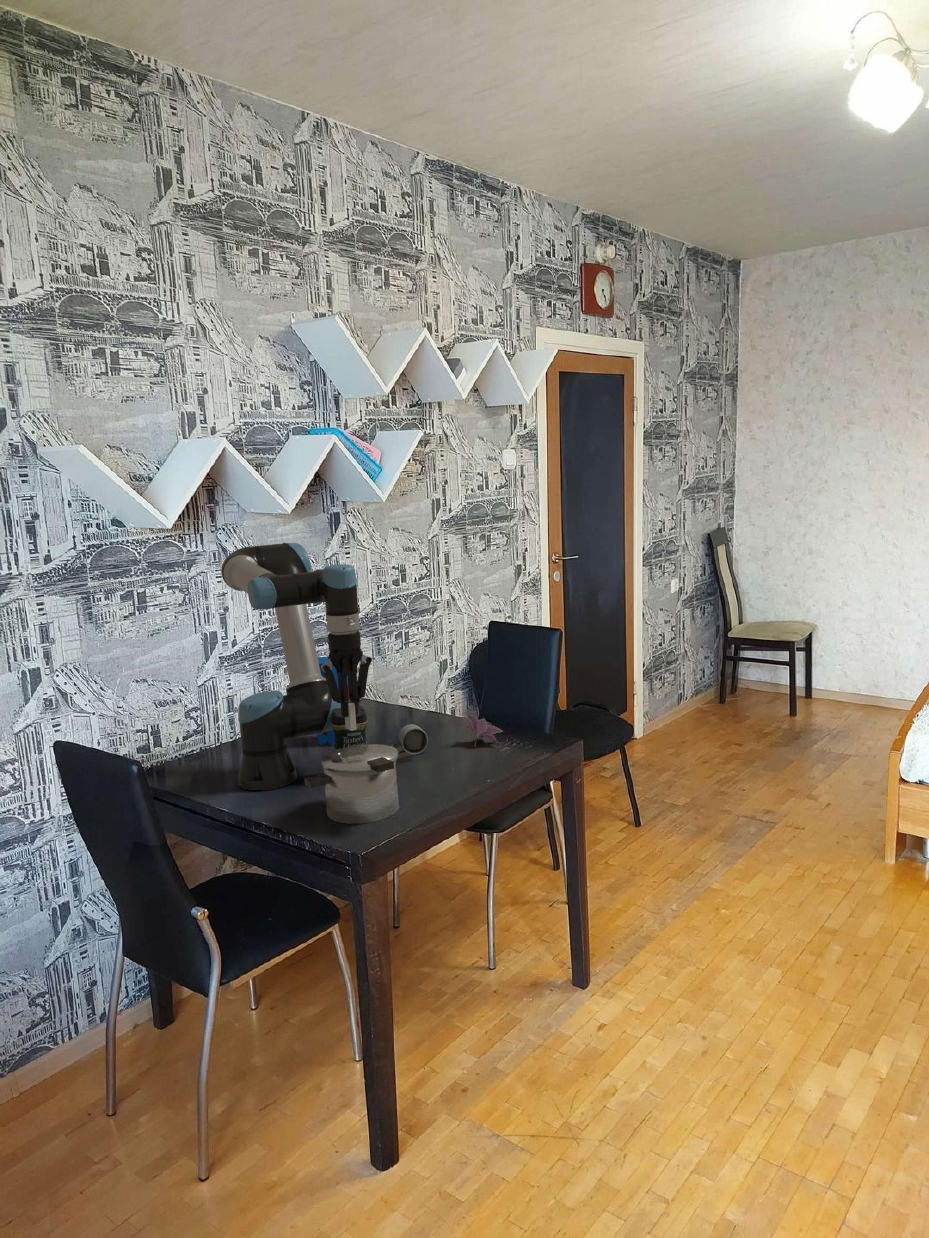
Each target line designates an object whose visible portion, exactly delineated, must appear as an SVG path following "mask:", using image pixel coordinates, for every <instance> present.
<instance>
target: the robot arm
mask: <svg viewBox="0 0 929 1238" xmlns="http://www.w3.org/2000/svg"><path fill="white" fill-rule="evenodd" d="M312 567H313V566H312V563H311V560H310V557H309V554H308V552H307V550H306V548H305V547H303V546H302V545H301V543H299V542H282V543H273V544H263V545H262V544H261V545H254V546H252V545H250V546H249V545H248V546H245V547H241V548H238V549H236V550H234V551H233V552H231V553H230V554H228V555H227V557H226V558H225V559H224V560H223V562H222V565H221V569H220V571H221V577H222V580H223V582H224V583H225V585H227V586H228V587H229V588H231V589H232V590H234V591H239V592H245V593H246V594H247V596H248V601H249V602H248V603H249V604H250V607H251V608H252V609H254V610H271V609H274V610H275V615H276V620H277V624H278V629H279V634H280V640H281V645H282V650H283V654H284V659H285V663H286V669H287V673H288V674H287V675H288V679H289V683H288V685H287V686H286V687H285V692H286V694H285V695H284V694H283V693H282V692H281V691H280V690H269V691H268V690H267V691H266V690H265V691H262V692H257V693H255V694H252V695H250V696H248V697H246V698H245V697H244V699H242V700H241V701H240V702H239V704H238V707H237V708H238V710H237V711H238V719H237V721H238V722H239V723H238V724H239V730H240V731H239V732H240V733H239V734H240V742H241V750H242V756H241V757H242V758H241V761H240V766H239V770H238V775H237V779H238V780H237V781H238V786H239V785H240V786H241V787H243V788H245V789H244V790H246V789H250V790H249V791H253V790H261V791H270V790H275V789H280V788H283V787H285V786H289V785H291V784H292V783H294V782H296V780H297V778H298V777H297V776H298V775H297V774H298V773H297V769H296V766H295V763H294V762H293V759H292V757H291V755H290V753H289V749H288V742H287V741H288V740H290V739H295V738H300V737H305V736H310V735H311V736H312V735H317V733H319V734H321V733H323V732H327V731H331V730H333V729H332V726H331V717H332V710H333V709H336V708H341V714H342V716H343V717H345V726H346V729H348V730H350V731H353V730H357V728H356V715H357V714H358V706H359V703H360V701H361V699H364V698H365V696H366V690H367V683H368V676H369V669H370V666H371V664H372V662H373V658H372V657H371V656H367V655H365V654H364V652H363V650H362V643H361V641H362V639H361V632H360V631H359V629H360V615H359V600H358V599H359V597H358V584H357V583H358V579H357V576H356V575H357V574H356V568H355V567H354V566H353V565H352V564H345V563H344V564H341V563H340V564H331V565H327V566H325V567H324V568H323V569H322V568H319V569H315V570H313V571H312ZM319 603H320V604H321V603H324V605H325V615H326V616H325V617H326V629H327V630H326V631H327V632H328V634H327V643H328V651H329V653H328V656H327V657H328V660H327V661H326V662H325V663H324V664H320V666H319V662H318V658H319V657H318V652H317V649H316V643H315V640H314V633H313V630H312V626H311V620H310V614H309V611H308V607H307V606H308V605H310V604H319ZM332 665H333V666H334V667H335V669H336V673H337V676H338V687H337V684H336V680H335V677H334V674H333V672H332ZM358 666H359V668H358ZM320 669H321V670H322V671H323V673H324V675H325V678H324V677H323V676H322V675H321V672H320ZM357 674H358V675H357ZM347 677H348V685H347ZM338 689H339V690H338ZM348 690H349V699H350V701H349V699H348ZM340 704H341V706H340ZM240 786H239V787H240ZM241 787H240V788H241ZM243 788H242V789H243Z"/></svg>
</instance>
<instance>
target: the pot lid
mask: <svg viewBox="0 0 929 1238" xmlns="http://www.w3.org/2000/svg"><path fill="white" fill-rule="evenodd" d="M391 746H392V745H388V744H375V743H374V744H373V743H372V744H370V743H367V745H356V746H350V747H345V748H341V749H337V750H335V749H334V750H332V751H329V752H327V753H325V754H324V755H323V756H322V757H321V759H320V763H321V767H322V769H323V768H324V769H326V770H329V771H334V772H360V771H367V770H374V771H376V772H383V771H386V770H390V769H394V762H395V761H396V760H397V759H398V754H399V753H398V750H397V749H396V748H394V747H391Z"/></svg>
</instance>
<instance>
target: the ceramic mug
mask: <svg viewBox="0 0 929 1238" xmlns="http://www.w3.org/2000/svg"><path fill="white" fill-rule="evenodd" d="M428 743H429V737H428V734H427V733H426V731H425V730H423V729H422V728H421V727H420V726H418V725H417V724H413V723H411V724H406V725H405V726H403V727H402V728H401V729H400V731H399V733H398V741H397V740H396V742H393V744H392V745H390V746H391V747H394V748H396V749H397V750H398V754H399V753H402V752H406V753H409V754H411V755H412V756H415V755H416V754H417V755H420V754H422V753H423V752H424V751H425V750H426V749H427V747H428V745H429V744H428Z"/></svg>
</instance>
